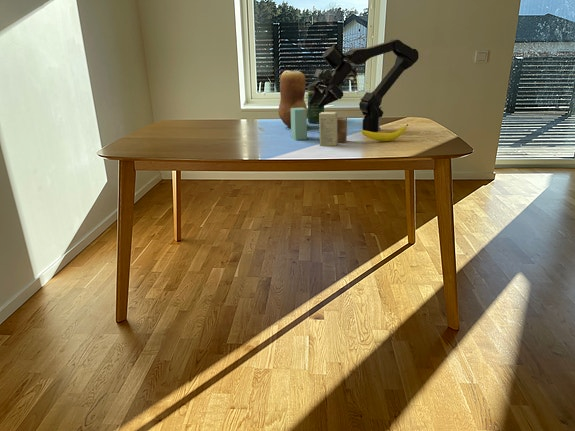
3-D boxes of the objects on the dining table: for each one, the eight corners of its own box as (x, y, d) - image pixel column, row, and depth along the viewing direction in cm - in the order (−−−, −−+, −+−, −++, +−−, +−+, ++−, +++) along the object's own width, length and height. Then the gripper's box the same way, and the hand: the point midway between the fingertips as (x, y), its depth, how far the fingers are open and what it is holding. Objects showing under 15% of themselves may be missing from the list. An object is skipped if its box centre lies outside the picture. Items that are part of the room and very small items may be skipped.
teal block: (302, 136, 177) (302, 107, 172) (306, 138, 172) (306, 109, 168) (291, 137, 175) (290, 108, 170) (295, 140, 171) (294, 110, 166)
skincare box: (337, 143, 163) (338, 111, 158) (335, 146, 159) (335, 113, 154) (321, 142, 165) (321, 111, 160) (318, 145, 161) (318, 113, 156)
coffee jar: (322, 124, 200) (323, 83, 192) (306, 123, 201) (306, 83, 194) (325, 120, 208) (325, 81, 201) (309, 120, 210) (309, 81, 203)
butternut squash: (313, 127, 193) (313, 70, 183) (289, 131, 186) (288, 72, 176) (296, 123, 203) (295, 68, 193) (272, 127, 196) (270, 70, 187)
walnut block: (346, 140, 168) (347, 117, 164) (345, 143, 164) (346, 119, 160) (335, 140, 169) (335, 117, 165) (333, 142, 165) (334, 119, 161)
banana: (358, 142, 165) (359, 125, 162) (405, 139, 166) (406, 123, 164) (360, 143, 162) (361, 127, 160) (408, 141, 164) (409, 124, 161)
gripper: (317, 60, 174) (292, 89, 175) (336, 62, 158) (309, 94, 159) (334, 79, 179) (310, 107, 180) (354, 83, 163) (328, 114, 164)
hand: (314, 105), depth 171 cm, fingers open, 9 cm apart
